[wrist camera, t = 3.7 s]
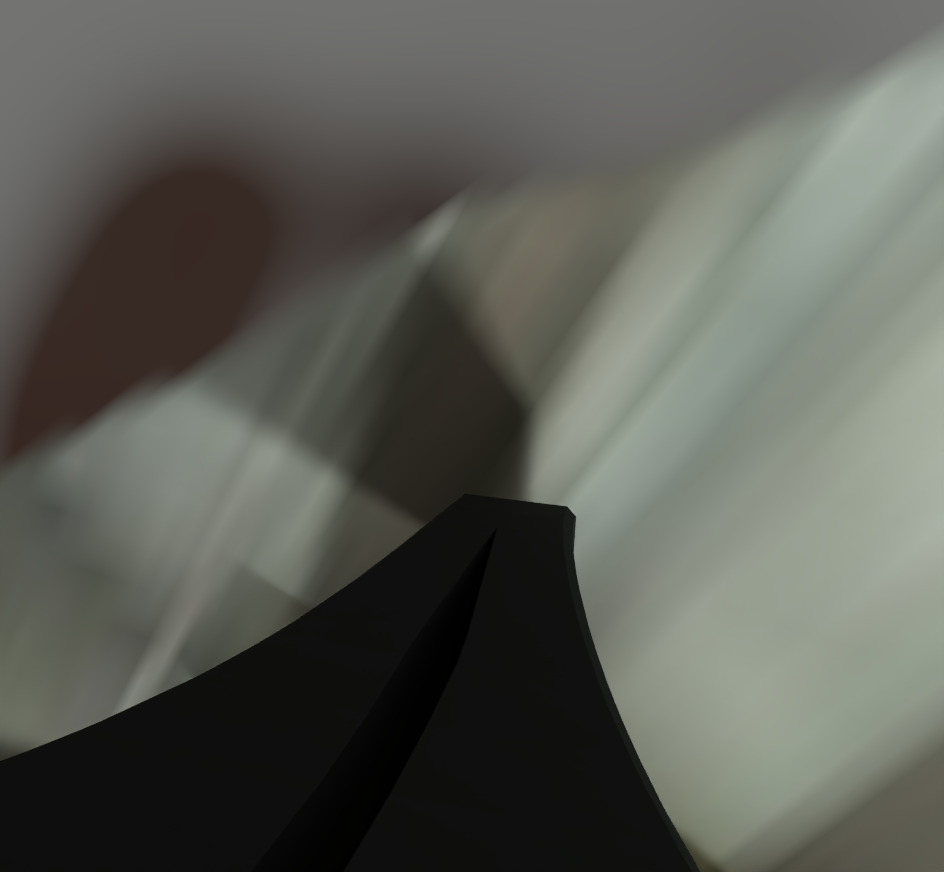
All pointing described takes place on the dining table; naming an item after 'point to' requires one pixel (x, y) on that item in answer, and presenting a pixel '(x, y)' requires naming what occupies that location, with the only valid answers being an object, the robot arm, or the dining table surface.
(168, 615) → the dining table surface
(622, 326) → the dining table surface
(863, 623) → the dining table surface
